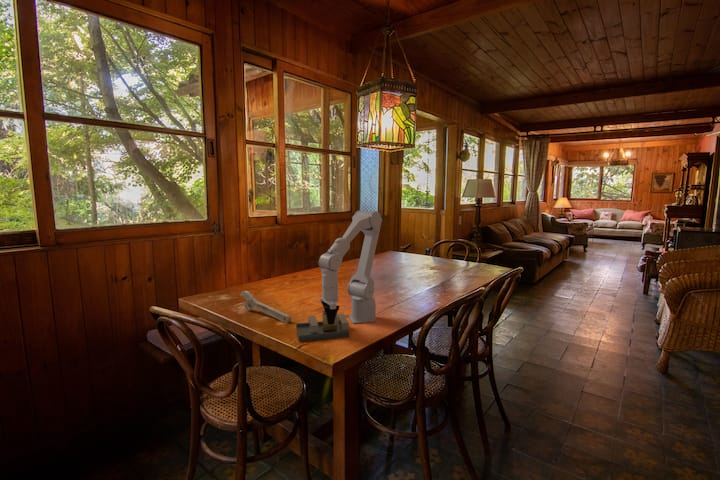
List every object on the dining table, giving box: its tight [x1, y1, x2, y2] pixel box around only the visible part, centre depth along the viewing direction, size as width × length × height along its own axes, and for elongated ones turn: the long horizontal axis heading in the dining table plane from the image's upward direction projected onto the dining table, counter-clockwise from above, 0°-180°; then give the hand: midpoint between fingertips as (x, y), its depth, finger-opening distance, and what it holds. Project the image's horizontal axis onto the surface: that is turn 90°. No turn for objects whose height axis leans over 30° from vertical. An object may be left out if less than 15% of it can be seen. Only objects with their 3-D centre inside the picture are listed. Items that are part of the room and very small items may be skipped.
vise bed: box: [295, 313, 350, 343], centre depth 136 cm, size 18×12×5 cm, turn 103°
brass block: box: [321, 310, 338, 330], centre depth 136 cm, size 5×4×6 cm
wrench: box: [239, 290, 292, 324], centre depth 154 cm, size 8×2×30 cm
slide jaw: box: [307, 315, 318, 334], centre depth 135 cm, size 2×10×4 cm, turn 13°
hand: (330, 321), depth 137 cm, fingers closed on brass block, 4 cm apart
